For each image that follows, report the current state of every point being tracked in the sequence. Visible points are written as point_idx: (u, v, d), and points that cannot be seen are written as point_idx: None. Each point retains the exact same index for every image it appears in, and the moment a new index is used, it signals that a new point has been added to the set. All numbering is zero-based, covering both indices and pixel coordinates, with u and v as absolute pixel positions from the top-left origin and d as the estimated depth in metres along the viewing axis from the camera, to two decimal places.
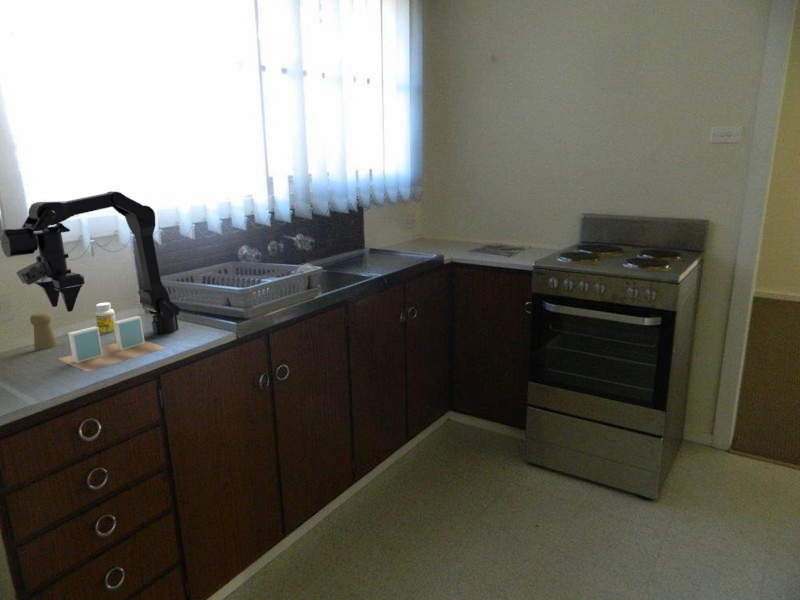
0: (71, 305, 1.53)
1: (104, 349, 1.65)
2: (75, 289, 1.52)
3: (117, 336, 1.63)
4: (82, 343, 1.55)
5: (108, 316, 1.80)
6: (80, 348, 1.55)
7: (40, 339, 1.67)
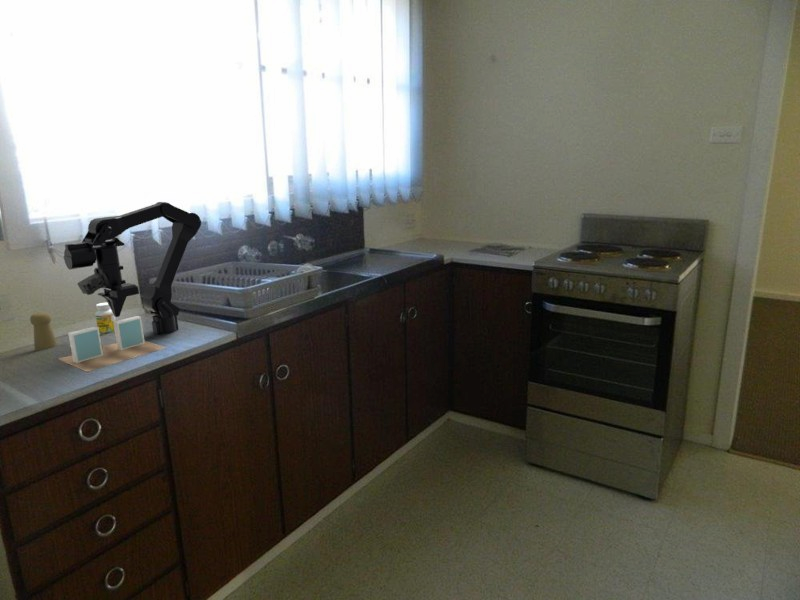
0: (119, 311, 1.68)
1: (104, 349, 1.65)
2: (122, 296, 1.67)
3: (117, 336, 1.63)
4: (82, 343, 1.55)
5: (108, 316, 1.80)
6: (80, 348, 1.55)
7: (40, 339, 1.67)
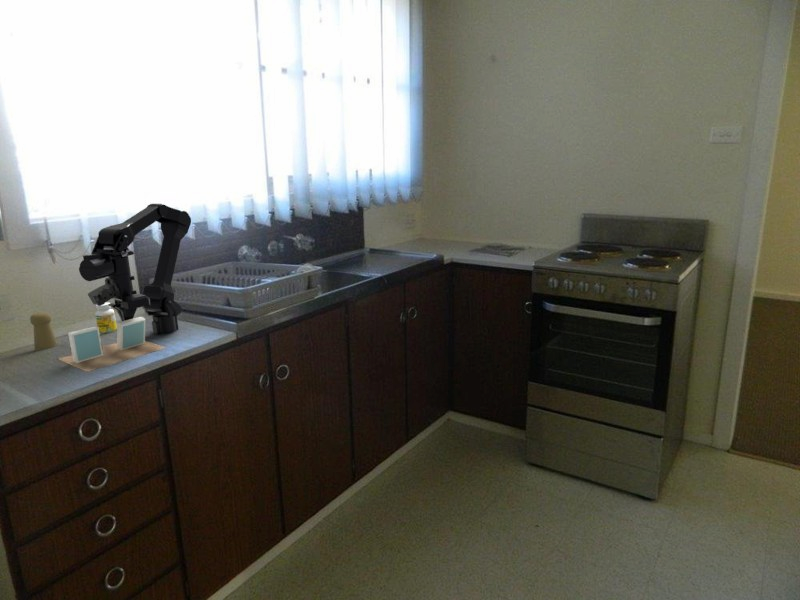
0: None
1: (104, 349, 1.65)
2: None
3: (119, 337, 1.63)
4: (82, 343, 1.55)
5: (108, 316, 1.80)
6: (80, 348, 1.55)
7: (40, 339, 1.67)
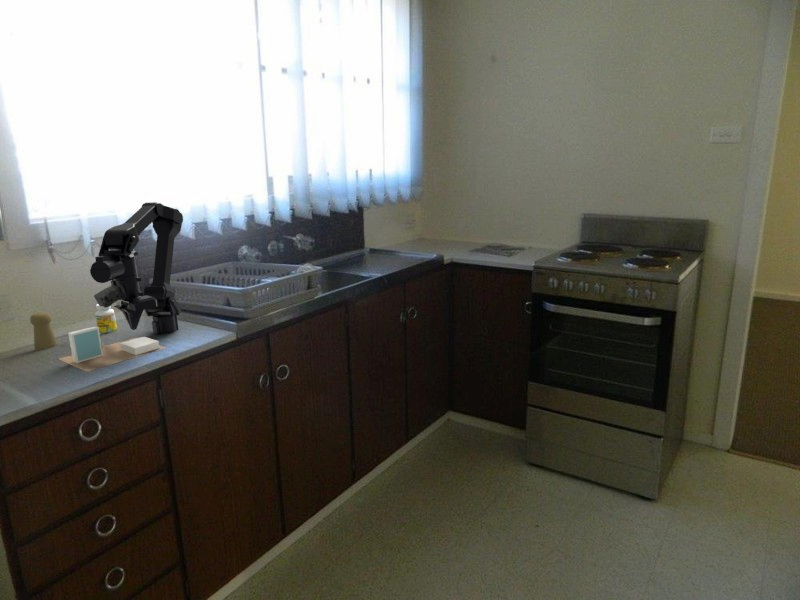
0: (136, 323, 1.63)
1: (104, 349, 1.65)
2: None
3: (127, 349, 1.61)
4: (82, 343, 1.55)
5: (108, 316, 1.80)
6: (80, 348, 1.55)
7: (40, 339, 1.67)
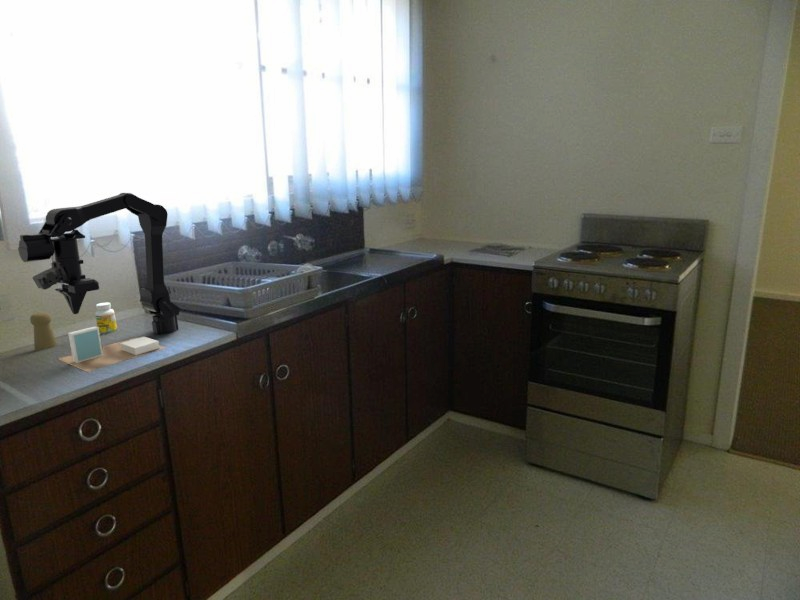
0: (78, 307, 1.58)
1: (104, 349, 1.65)
2: (81, 292, 1.58)
3: (127, 349, 1.61)
4: (82, 343, 1.55)
5: (108, 316, 1.80)
6: (80, 348, 1.55)
7: (40, 339, 1.67)
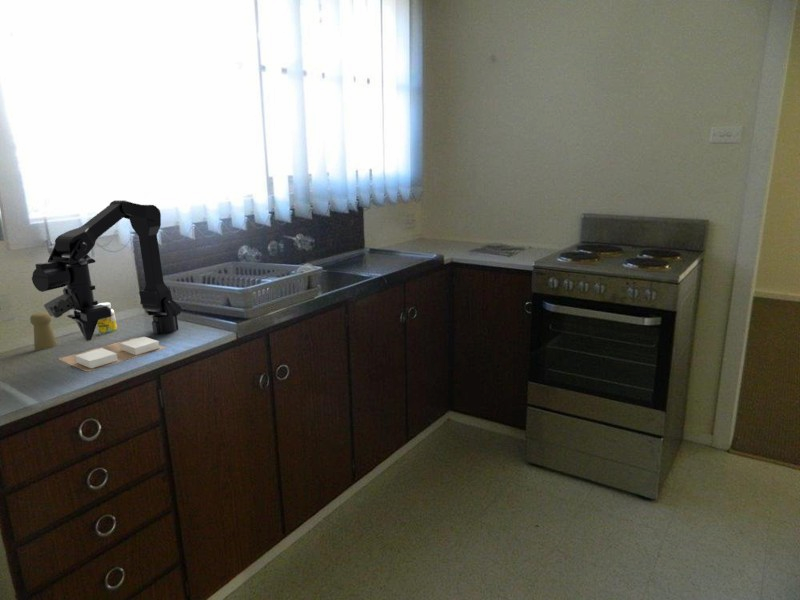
0: (90, 334, 1.55)
1: None
2: None
3: (127, 349, 1.61)
4: None
5: None
6: None
7: (40, 339, 1.67)
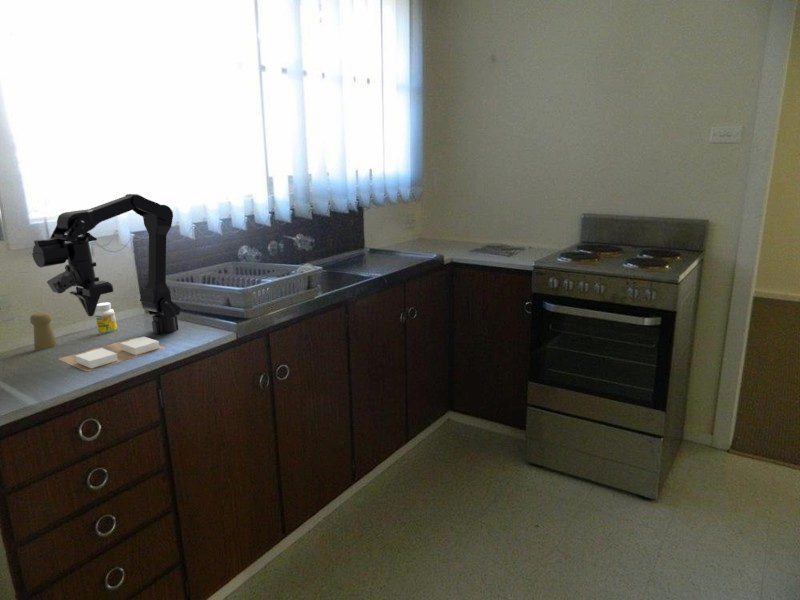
0: (93, 310, 1.60)
1: None
2: None
3: (127, 349, 1.61)
4: None
5: (108, 316, 1.80)
6: None
7: (40, 339, 1.67)
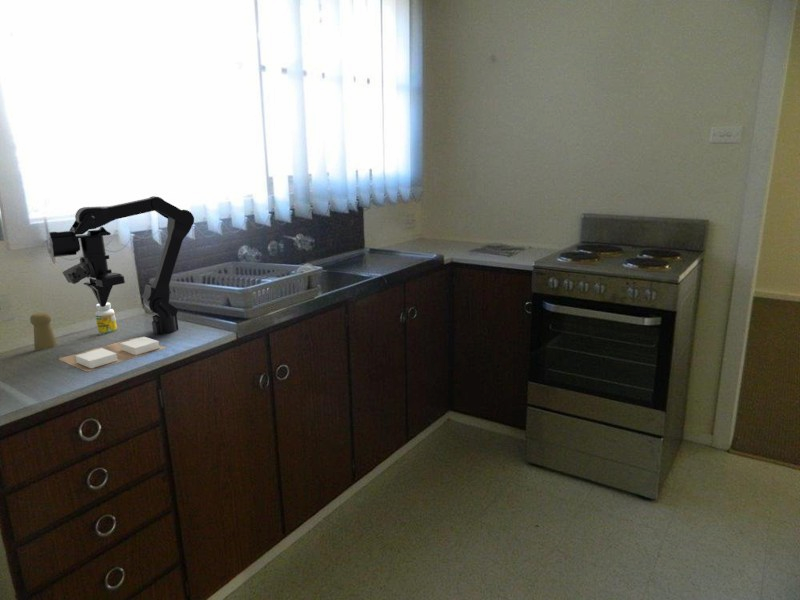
0: (105, 300, 1.68)
1: None
2: (108, 286, 1.67)
3: (127, 349, 1.61)
4: None
5: (108, 316, 1.80)
6: None
7: (40, 339, 1.67)
